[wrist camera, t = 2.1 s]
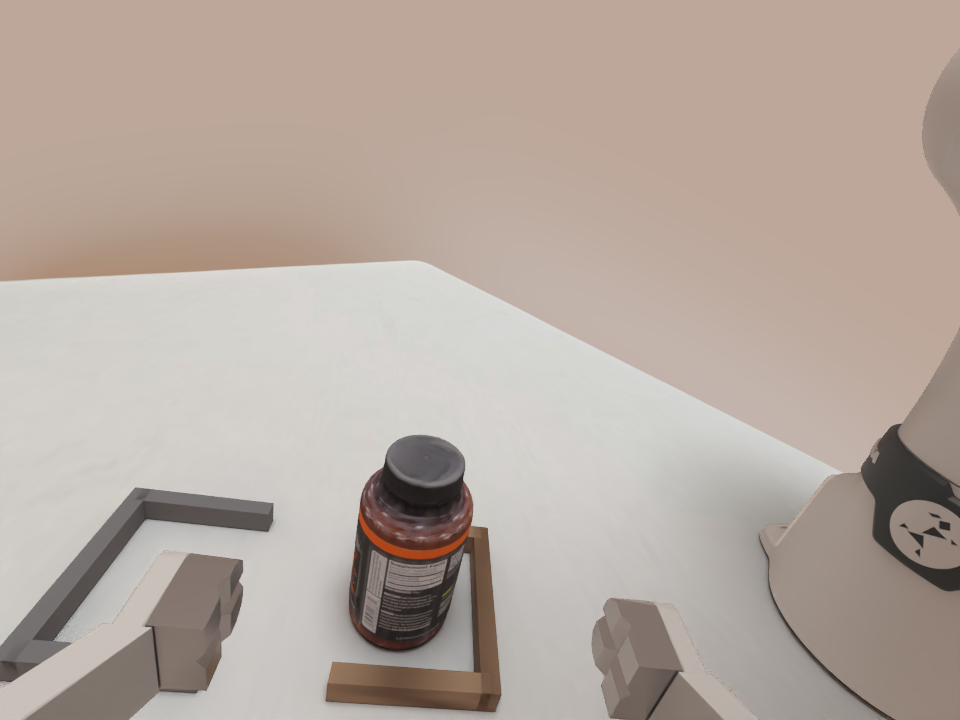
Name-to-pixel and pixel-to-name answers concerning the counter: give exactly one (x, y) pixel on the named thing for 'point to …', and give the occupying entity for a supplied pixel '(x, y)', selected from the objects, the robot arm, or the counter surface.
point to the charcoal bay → (74, 584)
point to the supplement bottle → (410, 542)
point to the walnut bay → (433, 684)
